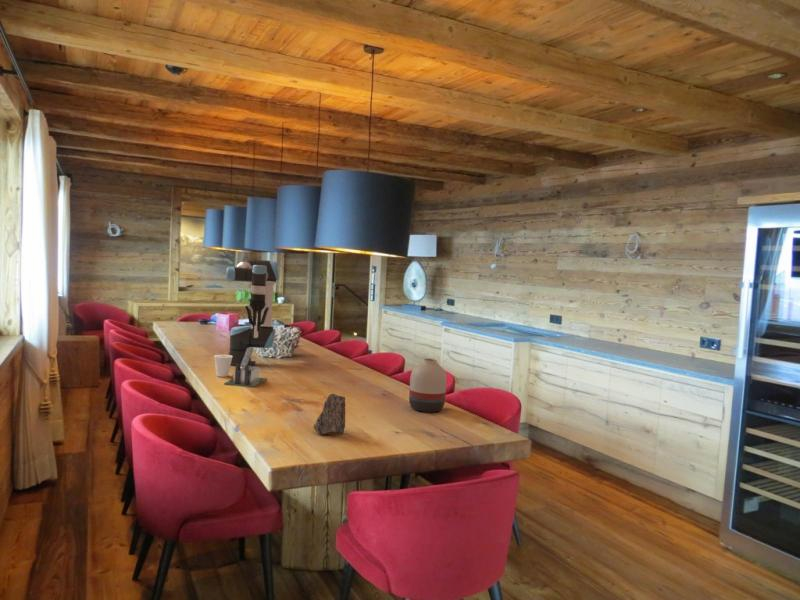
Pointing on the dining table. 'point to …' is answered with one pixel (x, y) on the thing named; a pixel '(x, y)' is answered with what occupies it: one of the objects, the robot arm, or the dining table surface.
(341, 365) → the dining table surface
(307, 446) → the dining table surface
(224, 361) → the cup
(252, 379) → the green circuit board
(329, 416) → the stone
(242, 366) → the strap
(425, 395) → the vase
